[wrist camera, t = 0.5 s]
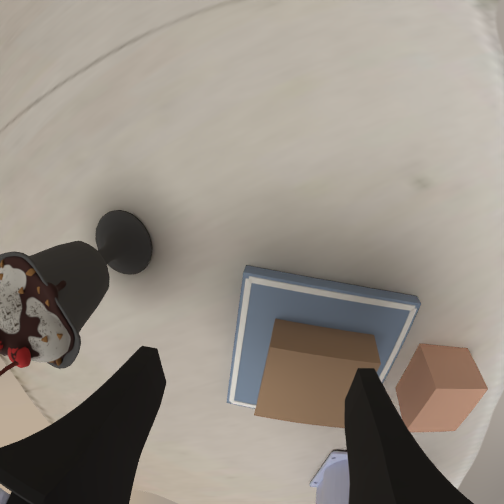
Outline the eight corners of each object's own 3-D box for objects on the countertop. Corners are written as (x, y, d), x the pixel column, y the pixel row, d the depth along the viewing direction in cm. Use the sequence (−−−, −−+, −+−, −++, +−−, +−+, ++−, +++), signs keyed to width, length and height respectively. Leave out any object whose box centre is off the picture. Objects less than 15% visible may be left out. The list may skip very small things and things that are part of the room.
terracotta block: (441, 389, 23) (455, 430, 18) (395, 386, 23) (404, 432, 19) (467, 347, 21) (487, 388, 16) (419, 342, 21) (436, 388, 17)
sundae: (181, 263, 21) (40, 434, 8) (118, 294, 24) (-6, 426, 10) (132, 180, 20) (-68, 278, 6) (75, 224, 22) (-79, 321, 8)
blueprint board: (358, 414, 25) (361, 449, 21) (229, 394, 26) (218, 428, 22) (417, 296, 20) (434, 329, 16) (246, 265, 21) (233, 296, 17)
